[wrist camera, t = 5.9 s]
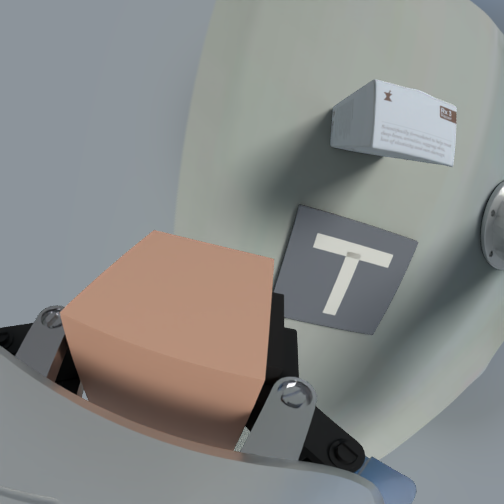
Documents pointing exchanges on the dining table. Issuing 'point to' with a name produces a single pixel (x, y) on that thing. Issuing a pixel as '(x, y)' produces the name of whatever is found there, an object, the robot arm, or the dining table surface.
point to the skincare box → (395, 124)
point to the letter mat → (341, 271)
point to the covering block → (175, 337)
